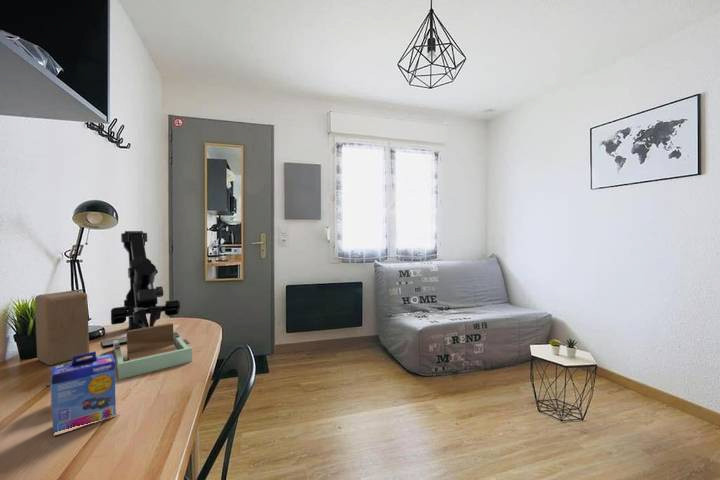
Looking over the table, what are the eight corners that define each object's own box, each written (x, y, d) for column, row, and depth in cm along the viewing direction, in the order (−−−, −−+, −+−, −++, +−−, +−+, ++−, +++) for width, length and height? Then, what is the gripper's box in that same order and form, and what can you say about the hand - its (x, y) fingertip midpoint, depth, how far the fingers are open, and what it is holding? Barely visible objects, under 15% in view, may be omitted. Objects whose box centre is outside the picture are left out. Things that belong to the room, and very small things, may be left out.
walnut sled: (127, 360, 97) (126, 330, 97) (172, 350, 104) (171, 323, 104) (131, 373, 88) (130, 340, 87) (180, 361, 95) (179, 331, 95)
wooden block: (90, 355, 101) (88, 292, 100) (48, 367, 92) (45, 298, 91) (77, 349, 106) (75, 289, 105) (36, 360, 97) (33, 295, 97)
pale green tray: (102, 351, 103) (101, 339, 103) (182, 336, 118) (182, 325, 118) (104, 382, 82) (104, 367, 82) (203, 358, 97) (202, 345, 97)
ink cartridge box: (52, 439, 60) (49, 362, 59) (52, 426, 64) (49, 354, 63) (118, 417, 67) (115, 348, 66) (114, 406, 71) (112, 342, 70)
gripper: (110, 282, 98) (113, 325, 90) (178, 276, 110) (186, 314, 102) (109, 303, 104) (112, 345, 96) (174, 295, 116) (181, 332, 108)
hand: (150, 333), depth 101 cm, fingers closed
